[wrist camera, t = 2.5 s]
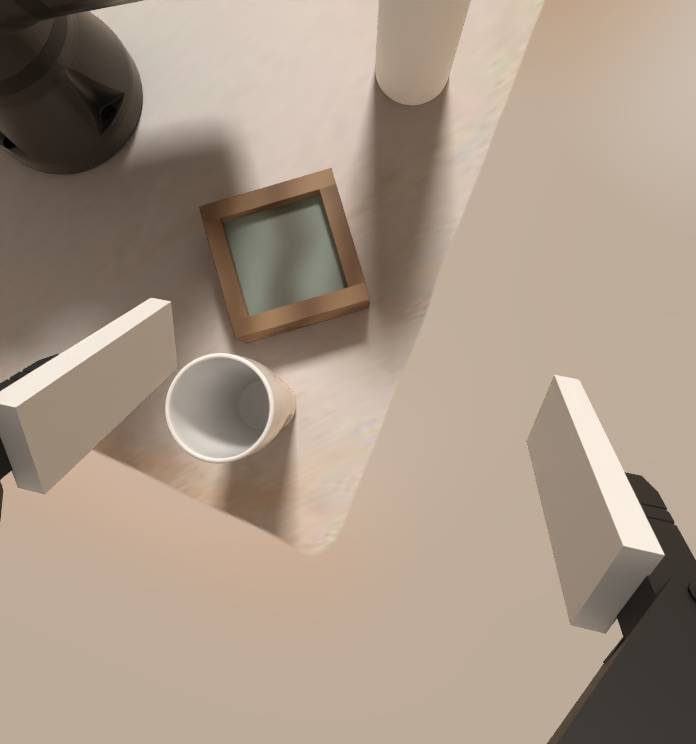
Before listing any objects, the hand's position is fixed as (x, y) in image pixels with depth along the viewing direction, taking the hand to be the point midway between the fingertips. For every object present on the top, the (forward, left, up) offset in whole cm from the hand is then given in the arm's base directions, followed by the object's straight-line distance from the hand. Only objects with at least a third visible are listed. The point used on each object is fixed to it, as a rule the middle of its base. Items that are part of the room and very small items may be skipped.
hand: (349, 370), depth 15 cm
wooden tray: (-3, +13, -26) cm, 29 cm away
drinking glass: (-8, +1, -26) cm, 28 cm away
